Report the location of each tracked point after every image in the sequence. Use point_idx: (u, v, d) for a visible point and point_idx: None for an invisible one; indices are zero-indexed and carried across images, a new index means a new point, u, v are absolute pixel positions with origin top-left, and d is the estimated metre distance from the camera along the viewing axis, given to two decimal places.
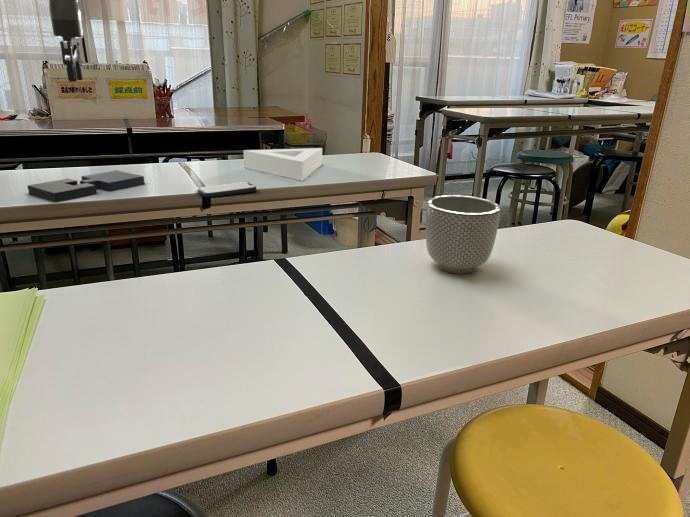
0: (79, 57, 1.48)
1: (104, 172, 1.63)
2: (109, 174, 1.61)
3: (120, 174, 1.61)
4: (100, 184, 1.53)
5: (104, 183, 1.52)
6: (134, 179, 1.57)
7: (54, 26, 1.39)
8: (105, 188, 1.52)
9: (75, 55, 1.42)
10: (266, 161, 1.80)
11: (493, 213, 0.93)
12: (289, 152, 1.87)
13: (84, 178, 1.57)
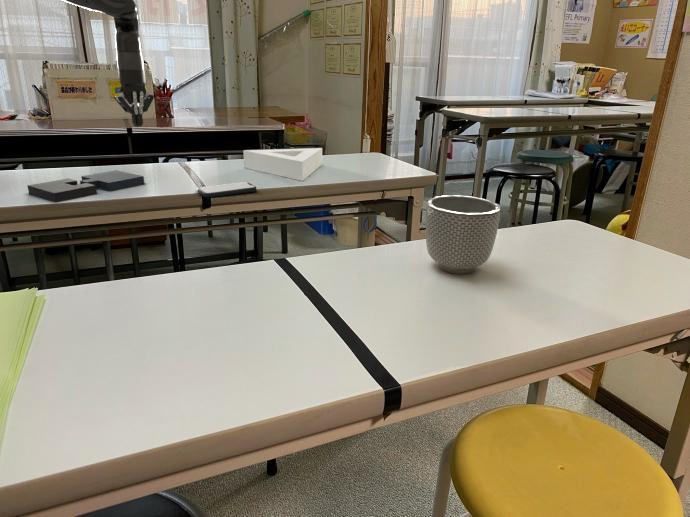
0: (139, 102, 1.59)
1: (104, 172, 1.63)
2: (109, 174, 1.61)
3: (120, 174, 1.61)
4: (100, 184, 1.53)
5: (104, 183, 1.52)
6: (134, 179, 1.57)
7: None
8: (105, 188, 1.52)
9: (134, 104, 1.58)
10: (266, 161, 1.80)
11: (493, 213, 0.93)
12: (289, 152, 1.87)
13: (84, 178, 1.57)
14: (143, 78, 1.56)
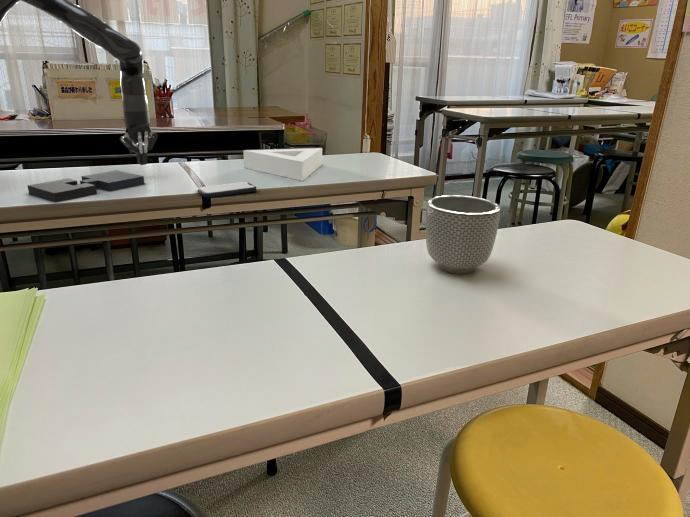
0: (144, 142, 1.64)
1: (104, 172, 1.63)
2: (109, 174, 1.61)
3: (120, 174, 1.61)
4: (100, 184, 1.53)
5: (104, 183, 1.52)
6: (134, 179, 1.57)
7: None
8: (105, 188, 1.52)
9: (138, 143, 1.62)
10: (266, 161, 1.80)
11: (493, 213, 0.93)
12: (289, 152, 1.87)
13: (84, 178, 1.57)
14: (148, 119, 1.61)
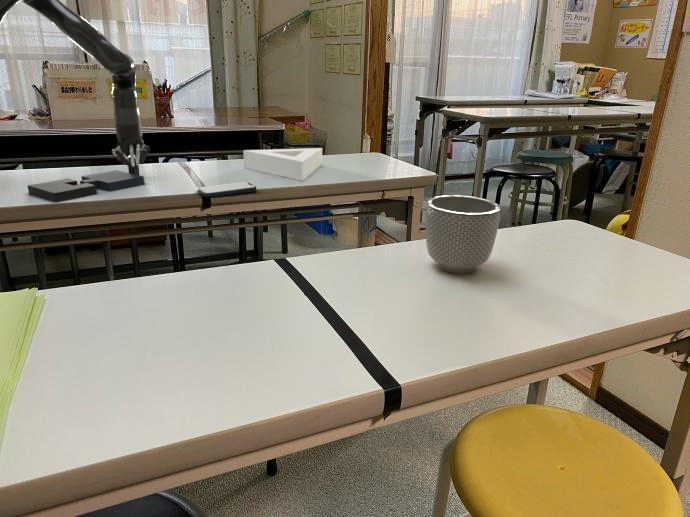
0: (136, 155, 1.62)
1: (104, 172, 1.63)
2: (109, 174, 1.61)
3: (120, 174, 1.61)
4: (100, 184, 1.53)
5: (104, 183, 1.52)
6: (134, 179, 1.57)
7: None
8: (105, 188, 1.52)
9: (130, 156, 1.61)
10: (266, 161, 1.80)
11: (493, 213, 0.93)
12: (289, 152, 1.87)
13: (84, 178, 1.57)
14: (140, 132, 1.59)
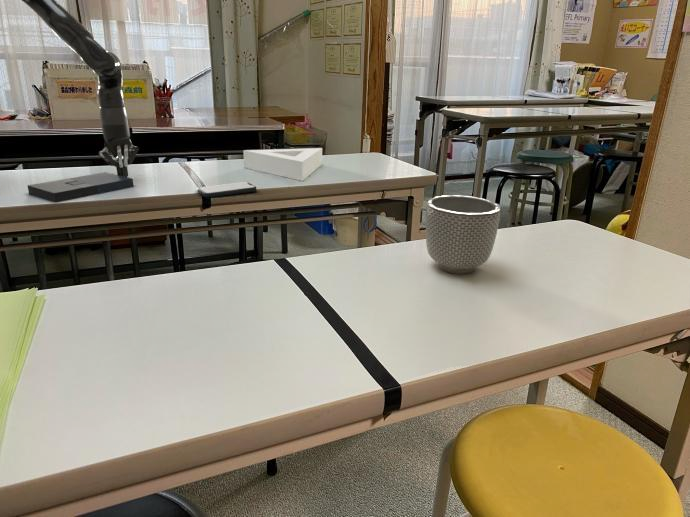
0: (124, 156, 1.59)
1: (92, 174, 1.60)
2: (97, 176, 1.58)
3: (109, 176, 1.58)
4: None
5: None
6: (123, 181, 1.54)
7: None
8: None
9: (118, 157, 1.57)
10: (266, 161, 1.80)
11: (493, 213, 0.93)
12: (289, 152, 1.87)
13: None
14: (127, 132, 1.56)
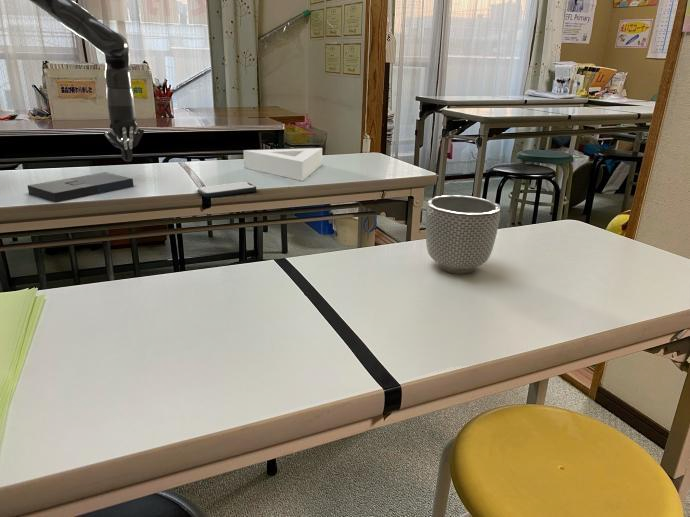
0: (129, 138, 1.59)
1: (92, 174, 1.60)
2: (97, 176, 1.58)
3: (109, 176, 1.58)
4: None
5: None
6: (123, 181, 1.54)
7: None
8: None
9: (123, 139, 1.57)
10: (266, 161, 1.80)
11: (493, 213, 0.93)
12: (289, 152, 1.87)
13: None
14: (133, 114, 1.56)
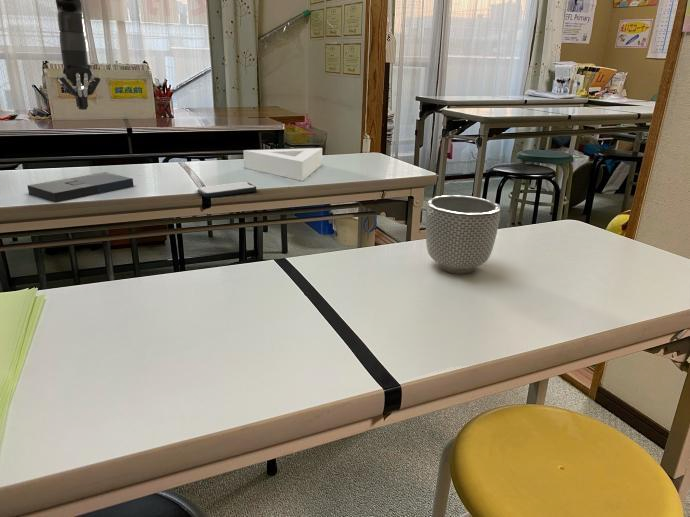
0: (83, 85, 1.56)
1: (92, 174, 1.60)
2: (97, 176, 1.58)
3: (109, 176, 1.58)
4: None
5: None
6: (123, 181, 1.54)
7: None
8: None
9: (77, 86, 1.54)
10: (266, 161, 1.80)
11: (493, 213, 0.93)
12: (289, 152, 1.87)
13: None
14: (87, 60, 1.53)
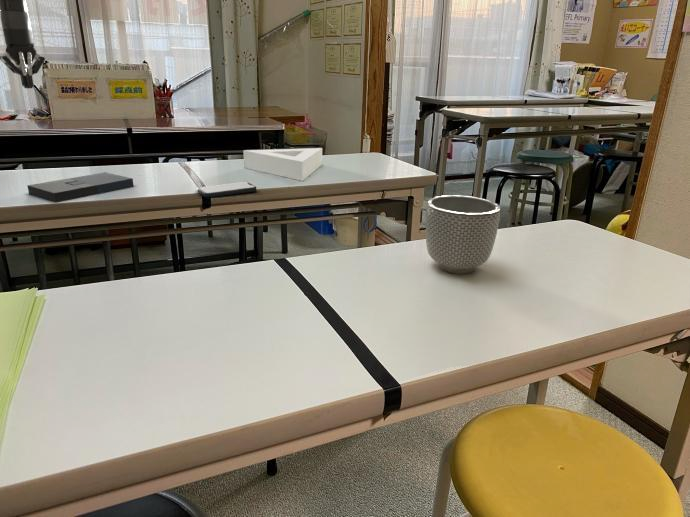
0: (27, 63, 1.59)
1: (92, 174, 1.60)
2: (97, 176, 1.58)
3: (109, 176, 1.58)
4: None
5: None
6: (123, 181, 1.54)
7: None
8: None
9: (21, 64, 1.57)
10: (266, 161, 1.80)
11: (493, 213, 0.93)
12: (289, 152, 1.87)
13: None
14: (29, 38, 1.56)
